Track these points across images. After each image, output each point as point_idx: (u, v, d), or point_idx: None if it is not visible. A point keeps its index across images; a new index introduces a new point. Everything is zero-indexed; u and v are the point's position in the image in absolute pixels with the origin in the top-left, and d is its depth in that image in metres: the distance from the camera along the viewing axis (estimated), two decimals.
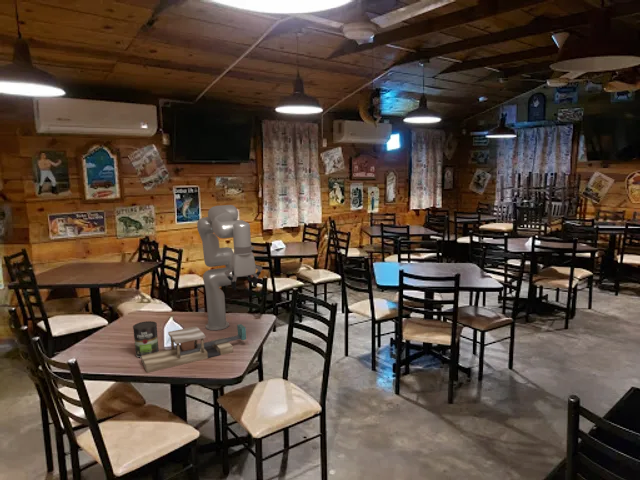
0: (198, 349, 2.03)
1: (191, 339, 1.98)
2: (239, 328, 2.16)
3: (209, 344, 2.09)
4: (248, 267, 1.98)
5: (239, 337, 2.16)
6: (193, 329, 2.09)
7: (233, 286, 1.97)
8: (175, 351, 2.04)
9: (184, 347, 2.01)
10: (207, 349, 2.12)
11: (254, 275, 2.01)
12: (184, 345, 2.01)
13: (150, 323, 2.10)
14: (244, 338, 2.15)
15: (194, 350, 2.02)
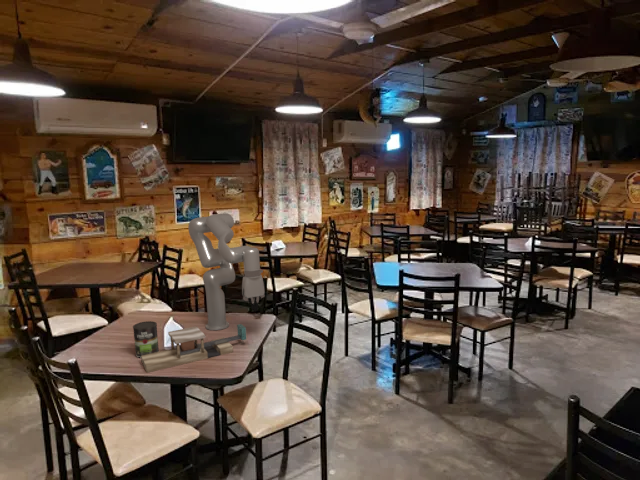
0: (198, 349, 2.03)
1: (191, 339, 1.98)
2: (239, 328, 2.16)
3: (209, 344, 2.09)
4: (257, 289, 2.16)
5: (239, 337, 2.16)
6: (193, 329, 2.09)
7: (253, 307, 2.17)
8: (175, 351, 2.04)
9: (184, 347, 2.01)
10: (207, 349, 2.12)
11: (257, 298, 2.17)
12: (184, 345, 2.01)
13: (150, 323, 2.10)
14: (244, 338, 2.15)
15: (194, 350, 2.02)
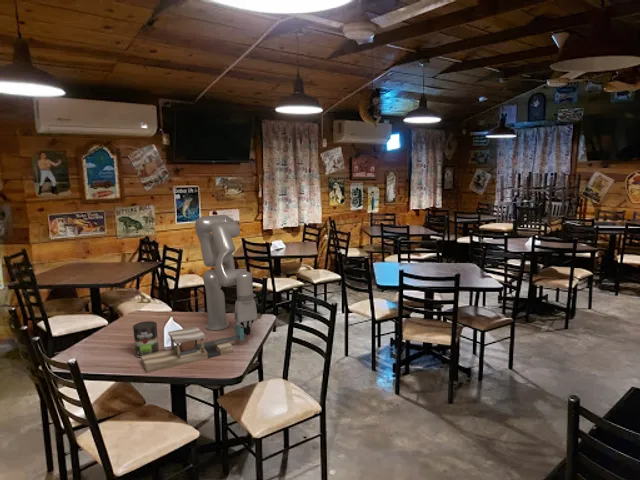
0: (196, 350, 2.02)
1: (191, 339, 1.98)
2: (237, 328, 2.16)
3: (207, 345, 2.08)
4: (250, 313, 2.16)
5: (237, 337, 2.15)
6: (193, 329, 2.09)
7: (245, 331, 2.17)
8: None
9: (184, 347, 2.01)
10: (207, 349, 2.12)
11: (249, 322, 2.17)
12: (184, 345, 2.01)
13: (150, 323, 2.10)
14: (242, 338, 2.14)
15: (192, 351, 2.01)
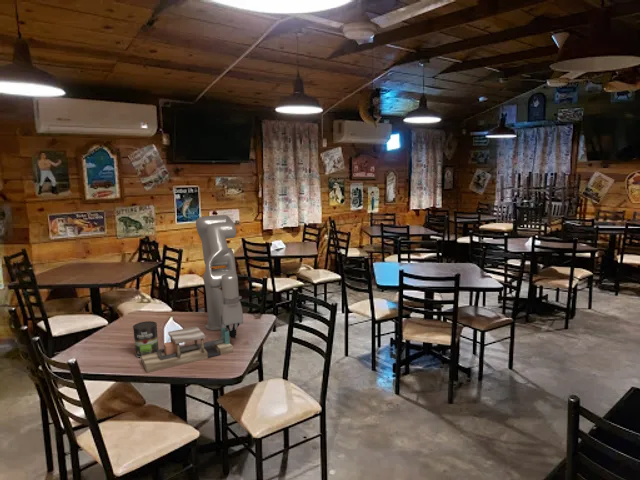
0: None
1: (191, 339, 1.98)
2: (222, 332, 2.12)
3: (191, 348, 2.05)
4: (236, 316, 2.12)
5: (222, 341, 2.12)
6: (193, 329, 2.09)
7: (231, 334, 2.14)
8: None
9: (167, 351, 1.97)
10: (207, 349, 2.12)
11: (235, 325, 2.14)
12: (167, 349, 1.97)
13: (150, 323, 2.10)
14: (227, 342, 2.11)
15: (175, 354, 1.98)
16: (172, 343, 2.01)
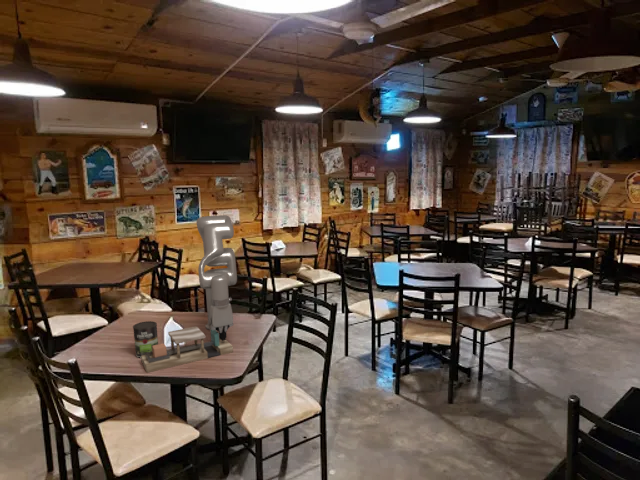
0: (168, 356, 1.96)
1: (191, 339, 1.98)
2: (212, 334, 2.10)
3: (180, 350, 2.02)
4: (226, 318, 2.10)
5: (212, 343, 2.09)
6: (193, 329, 2.09)
7: (221, 337, 2.11)
8: None
9: (156, 353, 1.95)
10: (207, 349, 2.12)
11: (225, 327, 2.11)
12: (156, 352, 1.95)
13: (150, 323, 2.10)
14: (217, 344, 2.08)
15: (164, 357, 1.95)
16: (161, 345, 1.98)
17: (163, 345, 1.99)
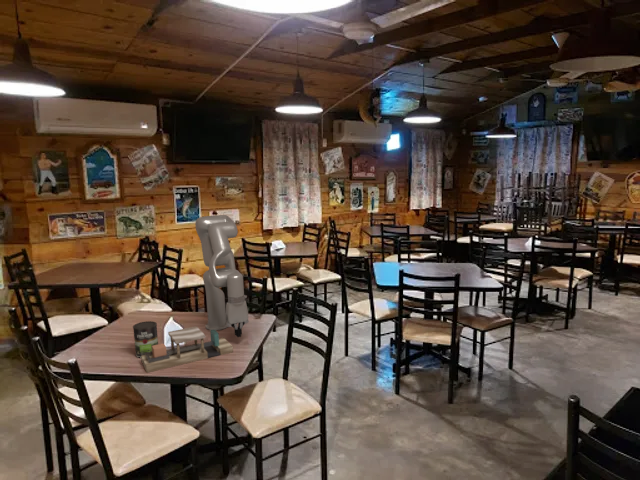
0: (168, 356, 1.96)
1: (191, 339, 1.98)
2: (212, 334, 2.10)
3: (180, 351, 2.02)
4: (241, 315, 2.13)
5: (212, 343, 2.09)
6: (193, 329, 2.09)
7: (236, 333, 2.15)
8: None
9: (155, 353, 1.95)
10: (207, 349, 2.12)
11: (240, 324, 2.15)
12: (155, 352, 1.95)
13: (150, 323, 2.10)
14: (217, 344, 2.08)
15: (163, 357, 1.95)
16: (160, 345, 1.98)
17: (163, 345, 1.98)
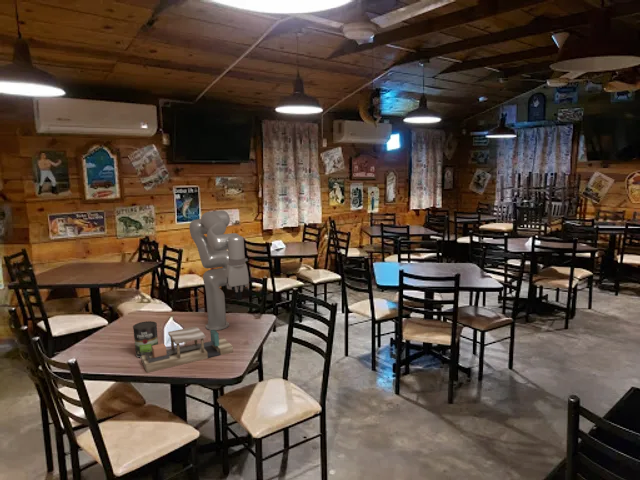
0: (168, 356, 1.96)
1: (191, 339, 1.98)
2: (212, 334, 2.10)
3: (180, 351, 2.02)
4: (242, 278, 2.12)
5: (212, 343, 2.09)
6: (193, 329, 2.09)
7: (236, 296, 2.14)
8: None
9: (155, 353, 1.95)
10: (207, 349, 2.12)
11: (241, 287, 2.14)
12: (155, 352, 1.95)
13: (150, 323, 2.10)
14: (217, 344, 2.08)
15: (163, 357, 1.95)
16: (160, 345, 1.98)
17: (163, 345, 1.98)
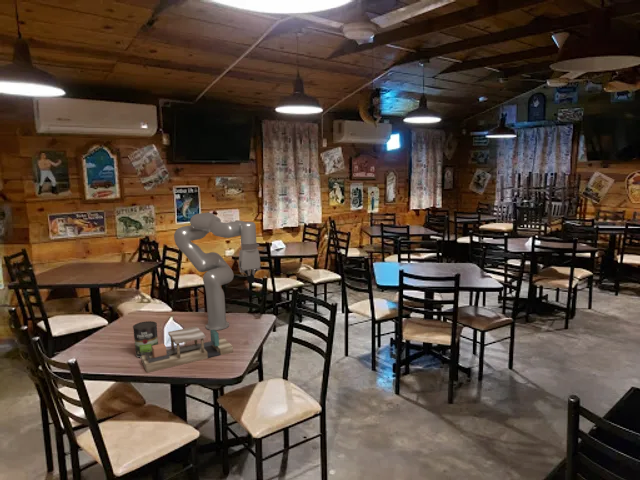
0: (168, 356, 1.96)
1: (191, 339, 1.98)
2: (212, 334, 2.10)
3: (180, 351, 2.02)
4: (254, 262, 2.24)
5: (212, 343, 2.09)
6: (193, 329, 2.09)
7: (249, 279, 2.26)
8: None
9: (155, 353, 1.95)
10: (207, 349, 2.12)
11: (253, 271, 2.26)
12: (155, 352, 1.95)
13: (150, 323, 2.10)
14: (217, 344, 2.08)
15: (163, 357, 1.95)
16: (160, 345, 1.98)
17: (163, 345, 1.98)
